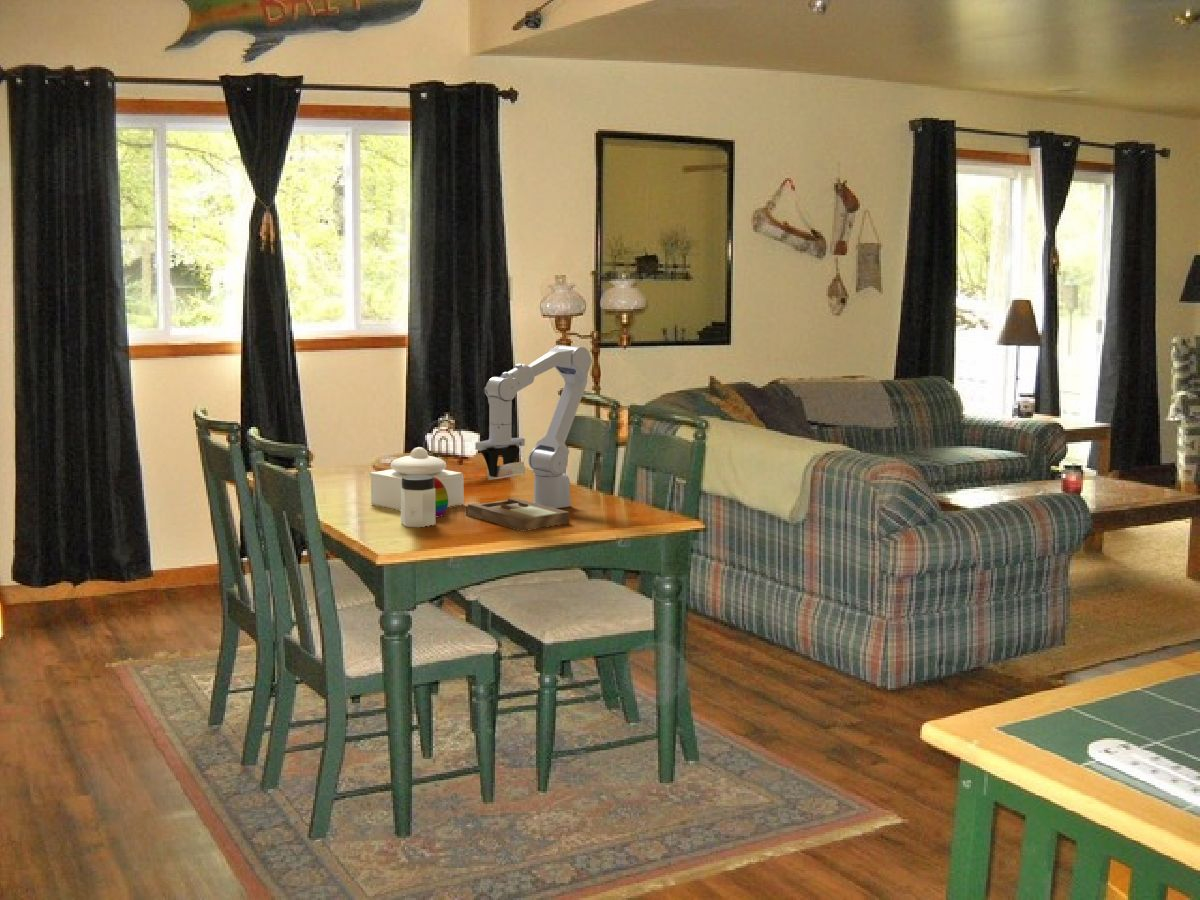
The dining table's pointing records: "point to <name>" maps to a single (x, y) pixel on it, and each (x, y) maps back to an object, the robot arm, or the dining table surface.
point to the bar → (508, 470)
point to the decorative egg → (440, 497)
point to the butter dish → (418, 462)
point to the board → (516, 514)
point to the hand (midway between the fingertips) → (500, 475)
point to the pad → (533, 511)
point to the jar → (418, 501)
